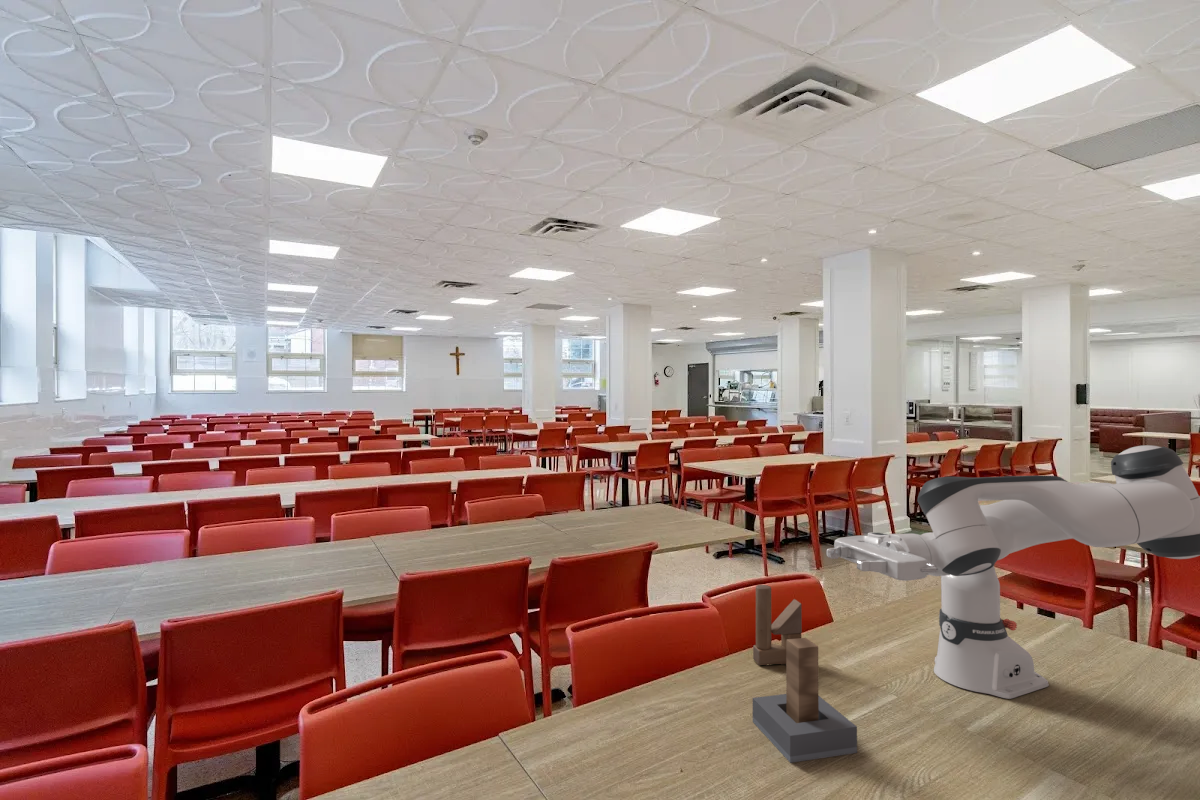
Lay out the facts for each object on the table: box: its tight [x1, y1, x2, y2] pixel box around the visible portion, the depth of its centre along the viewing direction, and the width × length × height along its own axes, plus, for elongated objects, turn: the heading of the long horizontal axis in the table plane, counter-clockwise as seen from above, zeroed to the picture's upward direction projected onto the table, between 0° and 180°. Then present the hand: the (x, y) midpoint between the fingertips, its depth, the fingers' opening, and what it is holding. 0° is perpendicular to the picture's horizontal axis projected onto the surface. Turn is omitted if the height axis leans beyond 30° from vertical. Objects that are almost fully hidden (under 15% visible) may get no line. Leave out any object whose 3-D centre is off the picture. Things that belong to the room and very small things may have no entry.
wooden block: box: [752, 584, 803, 666], centre depth 134 cm, size 4×11×18 cm, turn 99°
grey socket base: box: [752, 693, 858, 764], centre depth 103 cm, size 13×13×4 cm
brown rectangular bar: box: [785, 637, 819, 723], centre depth 103 cm, size 4×4×16 cm
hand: (843, 559), depth 112 cm, fingers open, 8 cm apart
